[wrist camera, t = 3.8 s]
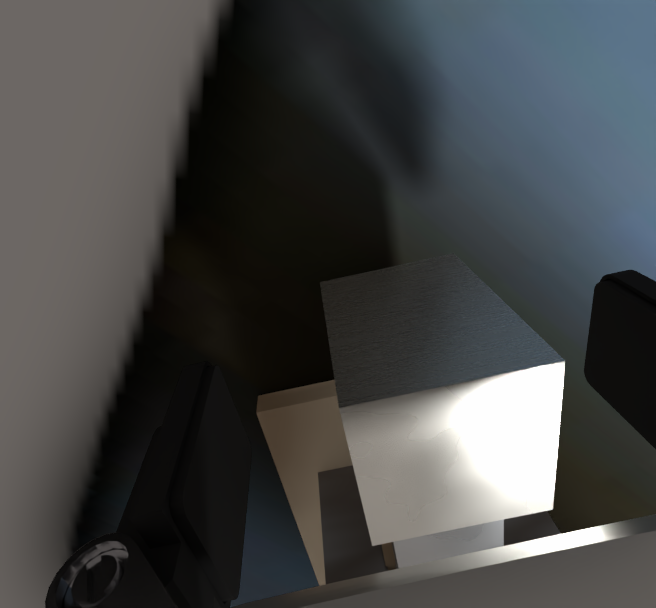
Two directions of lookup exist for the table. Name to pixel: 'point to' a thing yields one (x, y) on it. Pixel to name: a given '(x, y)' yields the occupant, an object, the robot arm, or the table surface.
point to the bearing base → (306, 453)
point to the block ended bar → (442, 407)
